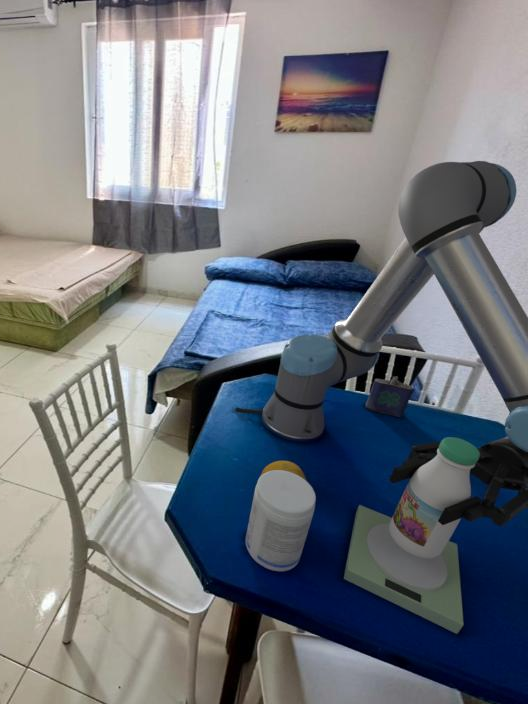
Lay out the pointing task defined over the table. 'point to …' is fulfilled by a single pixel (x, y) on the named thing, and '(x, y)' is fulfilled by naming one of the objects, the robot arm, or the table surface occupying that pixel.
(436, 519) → the milk bottle
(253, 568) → the table surface
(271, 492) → the supplement tub
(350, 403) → the table surface
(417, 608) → the scale
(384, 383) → the flask
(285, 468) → the fruit
